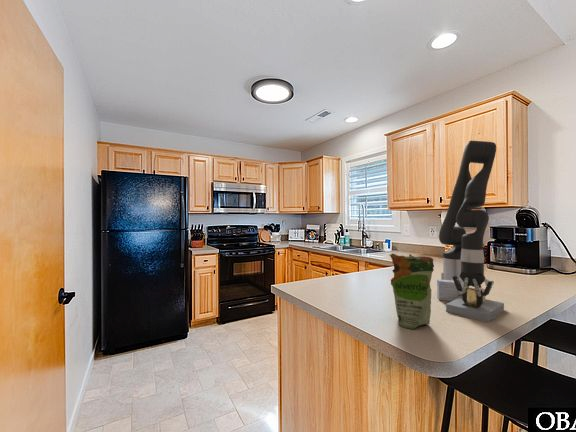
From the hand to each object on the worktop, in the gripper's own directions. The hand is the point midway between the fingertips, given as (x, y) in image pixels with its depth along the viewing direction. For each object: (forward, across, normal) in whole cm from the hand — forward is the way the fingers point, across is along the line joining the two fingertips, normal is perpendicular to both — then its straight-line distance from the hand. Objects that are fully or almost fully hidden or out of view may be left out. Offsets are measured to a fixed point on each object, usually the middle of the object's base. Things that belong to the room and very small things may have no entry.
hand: (472, 303), depth 105 cm
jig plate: (+4, 0, -4) cm, 5 cm away
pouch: (+4, +9, +30) cm, 32 cm away
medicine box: (+4, +13, -11) cm, 18 cm away
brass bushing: (+2, 0, 0) cm, 2 cm away
